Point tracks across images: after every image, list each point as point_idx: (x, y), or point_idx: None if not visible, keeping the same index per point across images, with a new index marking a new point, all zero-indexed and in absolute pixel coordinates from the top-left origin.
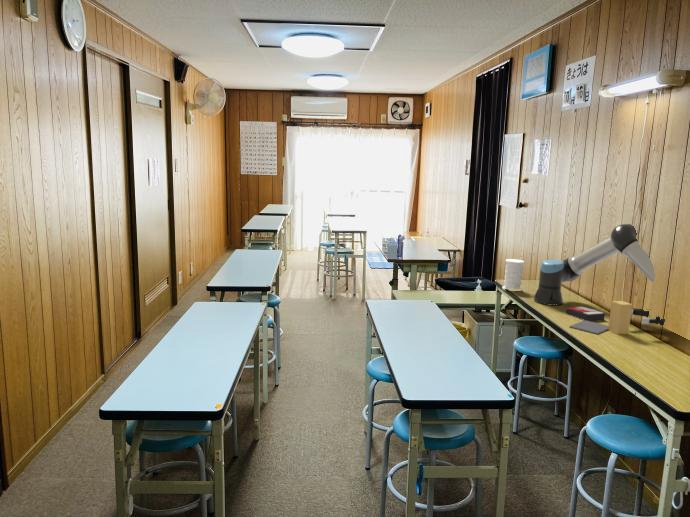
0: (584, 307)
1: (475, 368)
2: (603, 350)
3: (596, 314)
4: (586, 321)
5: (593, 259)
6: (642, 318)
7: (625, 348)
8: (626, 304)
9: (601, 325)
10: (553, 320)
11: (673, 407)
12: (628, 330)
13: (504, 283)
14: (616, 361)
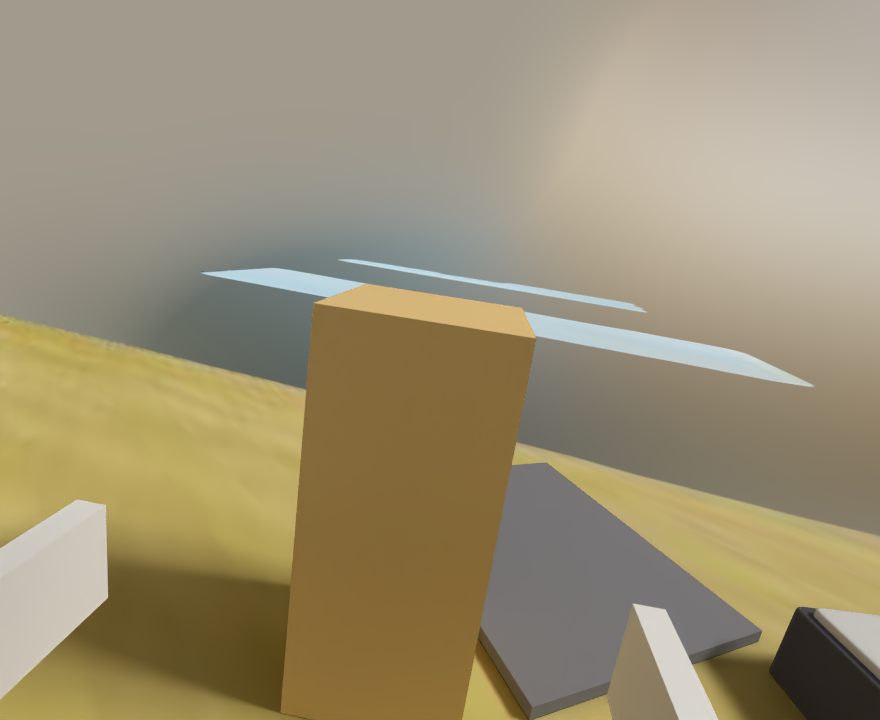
0: None
1: (309, 291)
2: (200, 382)
3: None
4: (708, 609)
5: None
6: (98, 512)
7: (123, 433)
8: (347, 291)
9: (581, 632)
10: (687, 489)
11: None
12: (284, 674)
13: None
14: (105, 352)
